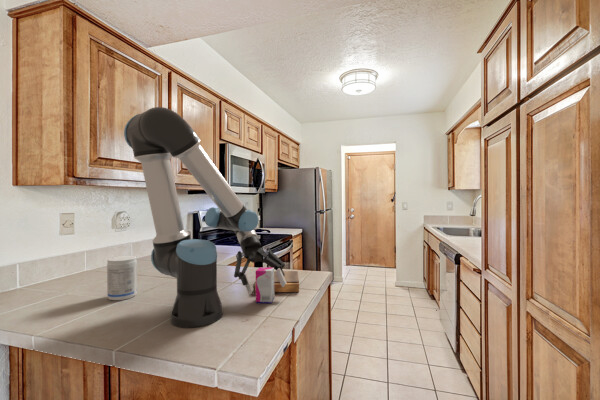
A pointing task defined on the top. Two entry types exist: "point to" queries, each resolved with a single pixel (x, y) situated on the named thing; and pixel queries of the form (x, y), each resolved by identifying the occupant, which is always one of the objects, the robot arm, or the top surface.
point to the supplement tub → (122, 277)
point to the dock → (291, 281)
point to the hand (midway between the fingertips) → (268, 288)
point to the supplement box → (265, 285)
